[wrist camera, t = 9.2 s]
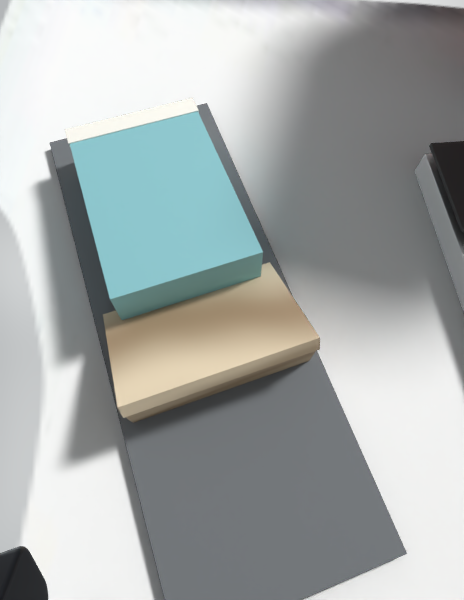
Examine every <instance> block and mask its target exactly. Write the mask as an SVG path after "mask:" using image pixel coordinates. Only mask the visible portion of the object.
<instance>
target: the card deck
mask: <svg viewBox="0 0 464 600" xmlns="http://www.w3.org/2000/svg"><path fill="white" fill-rule="evenodd" d="M65 133H66V136H67V140H68V144H69V146H70V148H71V151H72V155H73V159H74V163H75V166H76V170H77V174H78V178H79V182H80V186H81V190H82V193H83V197H84V201H85V205H86V209H87V213H88V217H89V220H90V224H91V228H92V232H93V236H94V240H95V244H96V247H97V251H98V255H99V259H100V263H101V267H102V271H103V275H104V278H105V282H106V286H107V290H108V294H109V298H110V300H111V302H112V304H113V306H114V308H115V309H116V311H117V313H118V315H119V317H120V318H121V320H125V319H128V318H131V317H134V316H137V315H140V314H143V313H147V312H150V311H153V310H156V309H159V308H162V307H166V306H169V305H172V304H175V303H178V302H181V301H184V300H188V299H191V298H194V297H197V296H200V295H203V294H207V293H210V292H213V291H216V290H219V289H222V288H225V287H229V286H232V285H235V284H238V283H241V282H244V281H248V280H251V279H254V278H257V277H260V276H261V269H262V258H263V251H262V249H261V247H260V244H259V242H258V240H257V238H256V236H255V234H254V231H253V229H252V227H251V225H250V223H249V221H248V219H247V216H246V214H245V212H244V210H243V208H242V206H241V203H240V201H239V199H238V197H237V195H236V193H235V191H234V188H233V186H232V184H231V182H230V180H229V178H228V175H227V173H226V171H225V169H224V167H223V165H222V163H221V160H220V158H219V156H218V154H217V152H216V150H215V147H214V145H213V143H212V141H211V139H210V137H209V135H208V132H207V130H206V128H205V126H204V124H203V122H202V119H201V117H200V115H199V110H198V108H197V106H196V104H195V101H194V99H193V98H189V99H185V100H181V101H177V102H173V103H169V104H165V105H161V106H157V107H153V108H149V109H145V110H141V111H137V112H133V113H129V114H125V115H121V116H117V117H113V118H109V119H105V120H101V121H97V122H93V123H89V124H85V125H81V126H77V127H72V128H68V129H65Z"/></svg>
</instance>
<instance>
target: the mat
mask: <svg viewBox="0 0 464 600" xmlns="http://www.w3.org/2000/svg"><path fill="white" fill-rule="evenodd" d="M197 108H198V110H199V115H200V117H201V119H202V122H203V124H204V126H205V128H206V130H207V132H208V135H209V137H210V139H211V141H212V143H213V145H214V147H215V150H216V152H217V154H218V156H219V158H220V160H221V163H222V165H223V167H224V169H225V171H226V173H227V175H228V178H229V180H230V182H231V184H232V186H233V188H234V191H235V193H236V195H237V197H238V199H239V201H240V203H241V206H242V208H243V210H244V212H245V214H246V216H247V219H248V221H249V223H250V225H251V227H252V229H253V231H254V234H255V236H256V238H257V240H258V242H259V244H260V247H261V249H262V251H263V258H262V265H263V264H266V263H269V262H270V263H271V265H272V266H273V268H274V269H275V271H276V272H277V274H278V275H279V277H280V278H281V280H282V281H283V283H284V284H285V286H286V287H287V289H288V290H289V292H290V289H289V287H288V285H287V283H286V280H285V278H284V276H283V274H282V271H281V269H280V267H279V265H278V262H277V260H276V258H275V256H274V253H273V251H272V249H271V247H270V244H269V242H268V240H267V238H266V235H265V233H264V231H263V229H262V226H261V224H260V222H259V220H258V217H257V215H256V213H255V211H254V208H253V206H252V204H251V202H250V199H249V197H248V195H247V193H246V190H245V188H244V186H243V184H242V181H241V179H240V177H239V175H238V172H237V170H236V168H235V166H234V163H233V161H232V159H231V157H230V154H229V152H228V150H227V148H226V145H225V143H224V141H223V139H222V136H221V134H220V132H219V130H218V127H217V125H216V123H215V121H214V118H213V116H212V114H211V112H210V109H209V107H208V105H207V103H206V104H202V105H198V106H197ZM50 146H51V150H52V154H53V158H54V162H55V166H56V170H57V174H58V177H59V181H60V185H61V189H62V193H63V197H64V201H65V205H66V209H67V213H68V217H69V221H70V225H71V229H72V233H73V237H74V241H75V245H76V249H77V253H78V257H79V261H80V265H81V269H82V273H83V277H84V281H85V285H86V289H87V293H88V297H89V301H90V305H91V309H92V313H93V316H94V320H95V324H96V328H97V332H98V336H99V340H100V344H101V348H102V352H103V356H104V360H105V364H106V368H107V372H108V376H109V380H110V384H111V388H112V392H113V396H114V400H115V404H116V408H117V412H118V416H119V420H120V424H121V428H122V432H123V436H124V440H125V444H126V448H127V451H128V455H129V459H130V463H131V467H132V471H133V475H134V479H135V483H136V487H137V491H138V495H139V499H140V503H141V507H142V511H143V515H144V519H145V523H146V527H147V531H148V535H149V539H150V543H151V547H152V551H153V555H154V559H155V563H156V567H157V571H158V575H159V579H160V583H161V586H162V590H163V594H164V598H165V600H302V599H304V598H306V597H309V596H311V595H313V594H316V593H318V592H320V591H322V590H325V589H327V588H329V587H332V586H334V585H336V584H338V583H341V582H343V581H345V580H348V579H350V578H352V577H354V576H357V575H359V574H361V573H364V572H366V571H368V570H371V569H373V568H375V567H377V566H380V565H382V564H384V563H387V562H389V561H391V560H393V559H396V558H398V557H400V556H403V555H405V554H407V553H406V550H405V548H404V546H403V544H402V541H401V539H400V537H399V535H398V532H397V530H396V528H395V526H394V523H393V521H392V519H391V517H390V514H389V512H388V510H387V508H386V505H385V503H384V501H383V499H382V496H381V494H380V492H379V490H378V487H377V485H376V483H375V481H374V478H373V476H372V474H371V472H370V469H369V467H368V465H367V463H366V460H365V458H364V456H363V454H362V451H361V449H360V447H359V445H358V442H357V440H356V438H355V436H354V433H353V431H352V429H351V427H350V424H349V422H348V420H347V418H346V415H345V413H344V411H343V409H342V406H341V404H340V402H339V400H338V397H337V395H336V393H335V391H334V388H333V386H332V384H331V382H330V379H329V377H328V375H327V373H326V370H325V368H324V366H323V364H322V361H321V359H320V357H319V355H318V352H317V350H316V352H315V353H314V355H313V356H312V357H311V359H310V360H309V361H307V362H304V363H301V364H299V365H296V366H293V367H290V368H287V369H284V370H282V371H279V372H276V373H273V374H270V375H267V376H265V377H262V378H259V379H256V380H253V381H250V382H248V383H245V384H242V385H239V386H236V387H233V388H231V389H228V390H225V391H222V392H219V393H216V394H213V395H211V396H208V397H205V398H202V399H199V400H196V401H194V402H191V403H188V404H185V405H182V406H179V407H177V408H174V409H171V410H168V411H165V412H162V413H160V414H157V415H154V416H151V417H148V418H145V419H143V420H140V421H137V422H134V423H133V422H131V421H130V420H128V419H127V418H126V417H125V418H123V417H122V415H121V413H120V411H119V409H118V407H117V401H116V395H115V388H114V382H113V376H112V369H111V363H110V357H109V350H108V344H107V338H106V331H105V325H104V318H103V314H106V313H109V312H112V311H116V309H115V308H114V306H113V304H112V302H111V300H110V298H109V294H108V290H107V286H106V282H105V278H104V275H103V271H102V267H101V263H100V259H99V255H98V251H97V247H96V244H95V240H94V236H93V232H92V228H91V224H90V220H89V217H88V213H87V209H86V205H85V201H84V197H83V193H82V190H81V186H80V182H79V178H78V174H77V170H76V166H75V163H74V159H73V155H72V151H71V148H70V146H69V144H68V140H67V138H66V139H62V140H58V141H54V142H51V143H50ZM290 294H291V292H290ZM291 295H292V294H291ZM292 297H293V296H292Z"/></svg>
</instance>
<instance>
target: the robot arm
mask: <svg viewBox="0 0 464 600" xmlns="http://www.w3.org/2000/svg"><path fill="white" fill-rule="evenodd" d="M0 600H48V590H47V585H46V582H45V579H44V577H43V576H42V574H41V572H40V570H39V568H38V566H37V565H36V563H35V561H34V559H33V557H32V555H31V554H30V552H29V550H28V549H27V548H26V547H23V546H20V547H17V548H14V549H11V550H8V551H5V552H3V553H0Z"/></svg>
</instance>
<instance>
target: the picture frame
mask: <svg viewBox="0 0 464 600" xmlns="http://www.w3.org/2000/svg"><path fill="white" fill-rule="evenodd" d="M429 147H430V150H431V152H432V153H428V154H424V156H423V158H422V159H421V161H420V163H419V164H418V166H417V168H416V169H415V174H416V177H417V180H418V183H419V186H420V188H421V191H422V194H423V197H424V200H425V203H426V206H427V209H428V211H429V214H430V217H431V220H432V223H433V226H434V229H435V232H436V235H437V237H438V240H439V243H440V246H441V249H442V252H443V255H444V258H445V260H446V263H447V266H448V269H449V272H450V275H451V278H452V281H453V283H454V286H455V289H456V292H457V295H458V298H459V301H460V304H461V306H462V309H463V312H464V141H460V142H444V143H431V144H430V146H429Z"/></svg>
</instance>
